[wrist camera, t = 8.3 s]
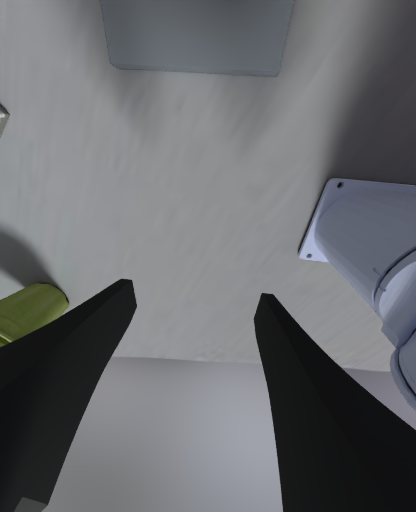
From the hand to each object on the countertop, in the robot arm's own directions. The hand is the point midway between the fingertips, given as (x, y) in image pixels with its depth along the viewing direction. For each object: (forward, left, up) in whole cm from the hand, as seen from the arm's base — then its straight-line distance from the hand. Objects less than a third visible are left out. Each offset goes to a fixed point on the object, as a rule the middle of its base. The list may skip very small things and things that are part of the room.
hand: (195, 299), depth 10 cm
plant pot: (+26, +15, -11) cm, 31 cm away
